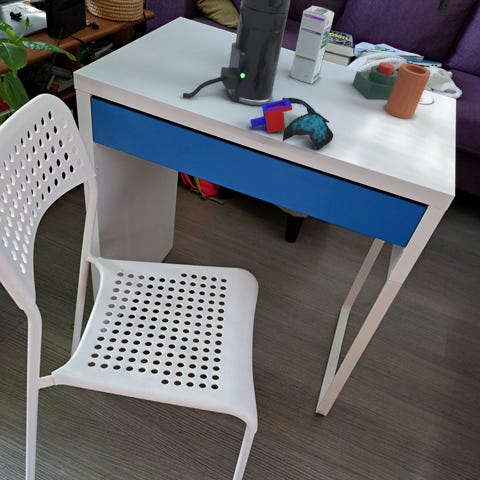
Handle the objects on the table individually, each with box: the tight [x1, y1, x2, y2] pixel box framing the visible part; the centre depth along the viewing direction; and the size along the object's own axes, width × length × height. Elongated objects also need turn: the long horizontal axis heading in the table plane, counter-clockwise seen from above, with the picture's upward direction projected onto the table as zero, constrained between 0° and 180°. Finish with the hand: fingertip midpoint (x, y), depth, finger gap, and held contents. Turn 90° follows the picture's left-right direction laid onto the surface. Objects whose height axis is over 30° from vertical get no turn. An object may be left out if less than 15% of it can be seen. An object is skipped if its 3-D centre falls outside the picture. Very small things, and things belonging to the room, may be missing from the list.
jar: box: [384, 62, 431, 120], centre depth 112 cm, size 7×7×10 cm
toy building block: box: [250, 98, 293, 134], centre depth 97 cm, size 4×4×8 cm
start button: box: [377, 61, 395, 75], centre depth 118 cm, size 4×4×2 cm
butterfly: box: [281, 97, 334, 151], centre depth 98 cm, size 17×5×10 cm
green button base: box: [352, 65, 398, 100], centre depth 120 cm, size 10×8×5 cm
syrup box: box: [289, 5, 335, 84], centre depth 116 cm, size 6×6×14 cm
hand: (431, 5), depth 102 cm, fingers open, 8 cm apart
